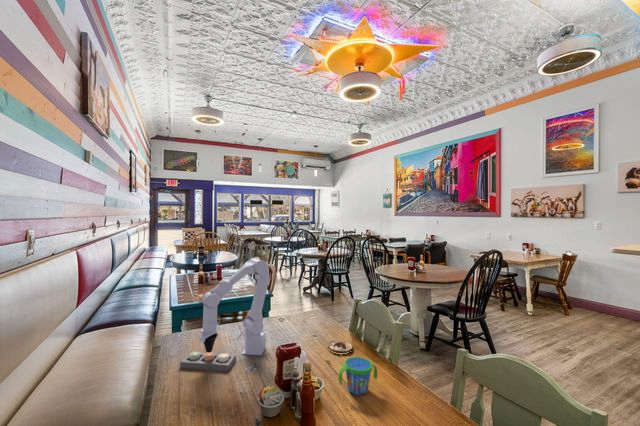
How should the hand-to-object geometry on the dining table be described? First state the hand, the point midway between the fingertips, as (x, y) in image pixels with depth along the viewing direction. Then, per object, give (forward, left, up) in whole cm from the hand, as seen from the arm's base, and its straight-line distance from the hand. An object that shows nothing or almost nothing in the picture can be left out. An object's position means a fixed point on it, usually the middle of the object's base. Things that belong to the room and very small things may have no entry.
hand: (209, 351), depth 127 cm
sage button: (+6, 0, -4) cm, 7 cm away
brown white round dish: (-57, -22, -6) cm, 62 cm away
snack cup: (-64, +11, -6) cm, 65 cm away
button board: (0, 0, -6) cm, 6 cm away
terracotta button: (0, 0, -4) cm, 4 cm away
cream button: (-7, 0, -4) cm, 8 cm away
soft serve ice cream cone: (-40, +11, -6) cm, 42 cm away
